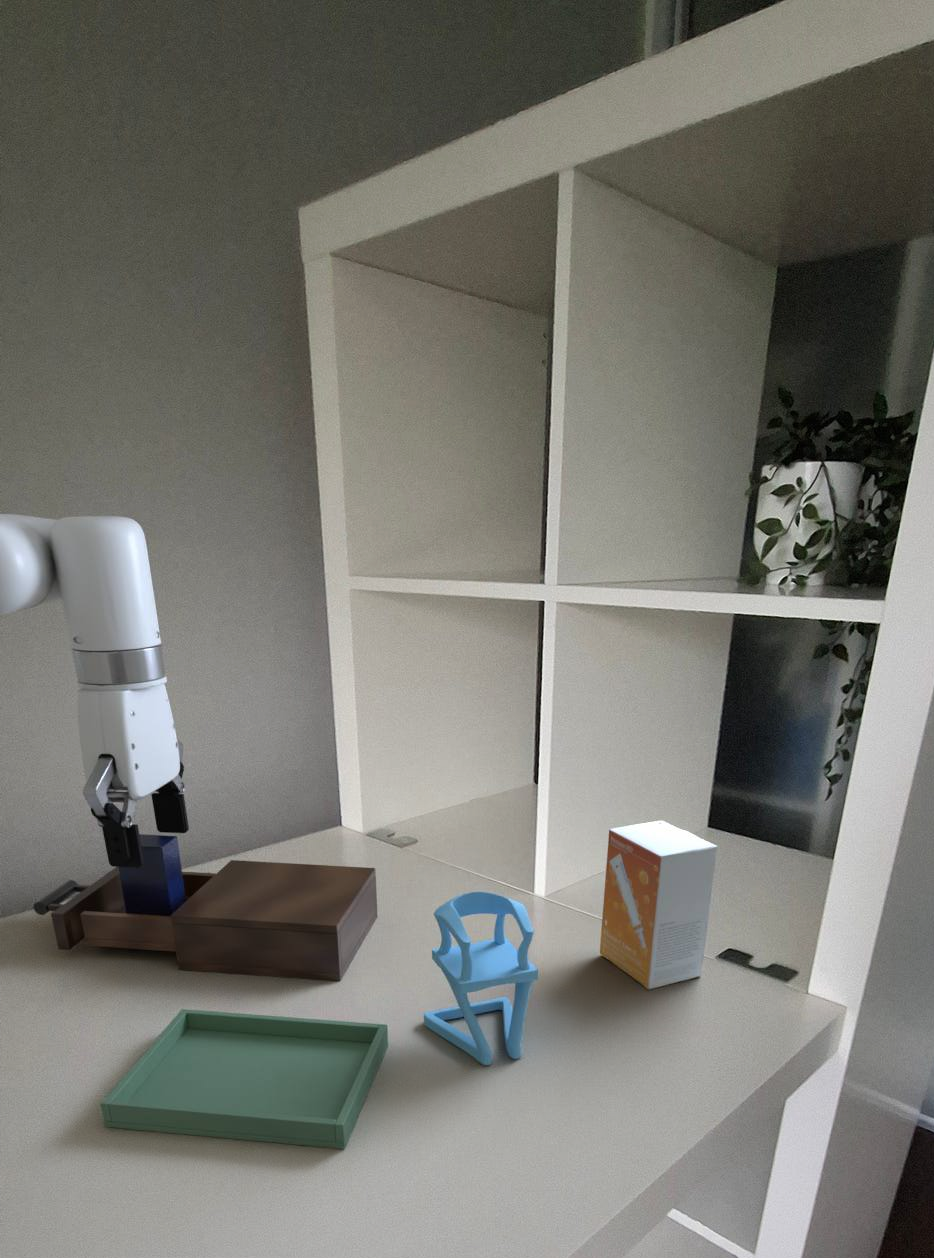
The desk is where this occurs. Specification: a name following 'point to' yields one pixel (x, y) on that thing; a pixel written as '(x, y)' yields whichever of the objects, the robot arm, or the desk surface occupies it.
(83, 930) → the drawer
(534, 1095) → the desk surface
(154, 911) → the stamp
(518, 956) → the chair
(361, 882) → the cabinet
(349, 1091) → the tray
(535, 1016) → the desk surface
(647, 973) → the small box
